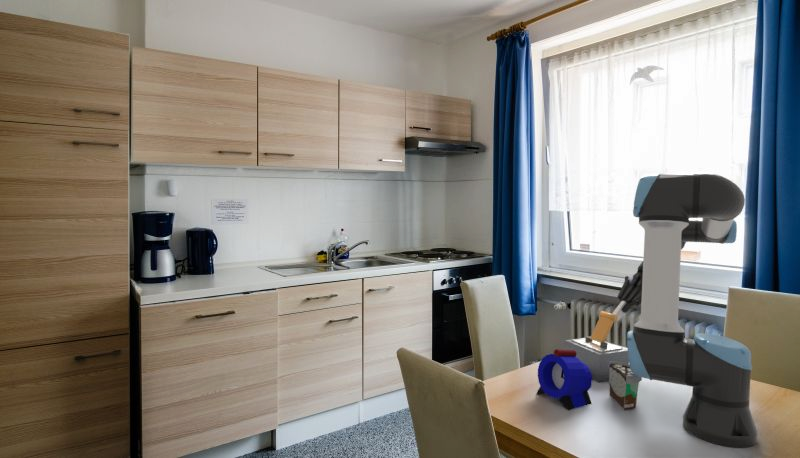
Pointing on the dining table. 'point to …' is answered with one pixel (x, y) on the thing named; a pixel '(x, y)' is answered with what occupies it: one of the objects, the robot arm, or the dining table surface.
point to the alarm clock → (565, 378)
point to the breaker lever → (603, 326)
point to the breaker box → (597, 356)
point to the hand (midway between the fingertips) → (614, 318)
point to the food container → (623, 385)
